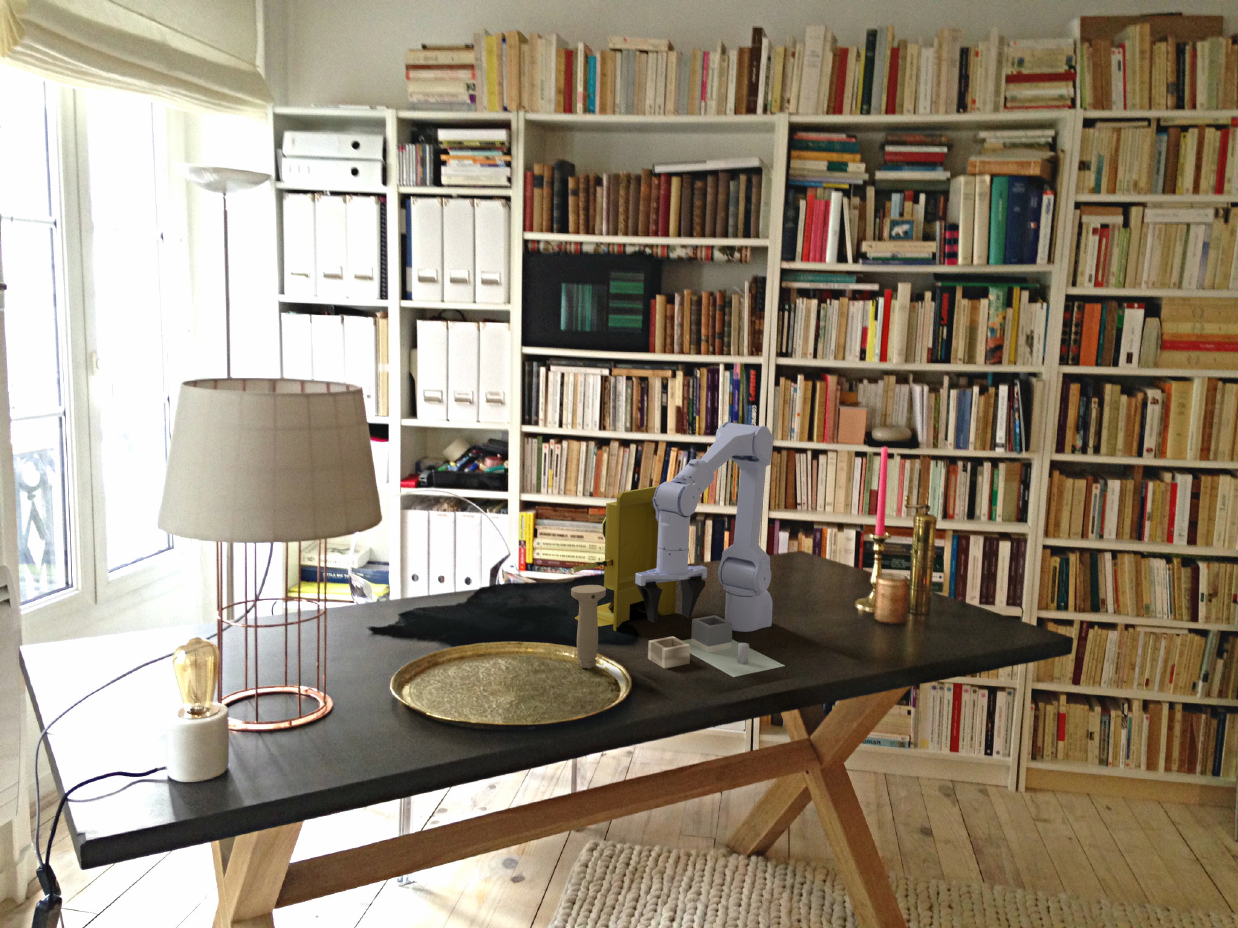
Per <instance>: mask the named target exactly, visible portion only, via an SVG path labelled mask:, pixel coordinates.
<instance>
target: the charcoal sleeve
mask: <svg viewBox="0 0 1238 928" xmlns="http://www.w3.org/2000/svg"><path fill="white" fill-rule="evenodd" d="M732 624H733V623H731V622H729V621H726V620H725V618H722V617H720V616H718V615H716V614H714V615H709V616H704V617H703V616H701V617H697V618H692V619H691V638H690V639H691V644H693V645H695V646H697V647H698V648H700V649H702V650H704V651H706V652H708V653H709V652H714V651H719V650H724V649H729V648H731V645H732V639H733V630H732Z"/></svg>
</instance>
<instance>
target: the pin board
mask: <svg viewBox="0 0 1238 928" xmlns="http://www.w3.org/2000/svg"><path fill="white" fill-rule="evenodd" d="M682 641H683V642H685V643H687V644H689V645H690V655H692V656H694V657H696V658H698V659H699V660H701V661H704V662H705V663H707V664H709V665H711V666H712V667H714V668H716V669H718V670H720V672H723V673H725V674H727V675H729V676H730V677H732V678H736V677H740V676H745V675H750V674H755V673H758V672H764V671H769V670H772V669H776V668H777V669H778V668H782V667H786V665H785V664H782V663H780V662H778V661H777V660H775V659H772V658H770V657H768V656H766V655H764V654H762V653H760V652H758V651H757V650H754V649H753V648H750V644H749V643H747V642H739V641H736V640H735V639H733V638H732V645H731V648H729V649H724V650H719V651H714V652H709V653H708V652H706V651H704V650H702V649H700V648H698V647H697V646H695V645H693V644H691V638H690V639H689V638H688V639H684V640H682Z"/></svg>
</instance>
